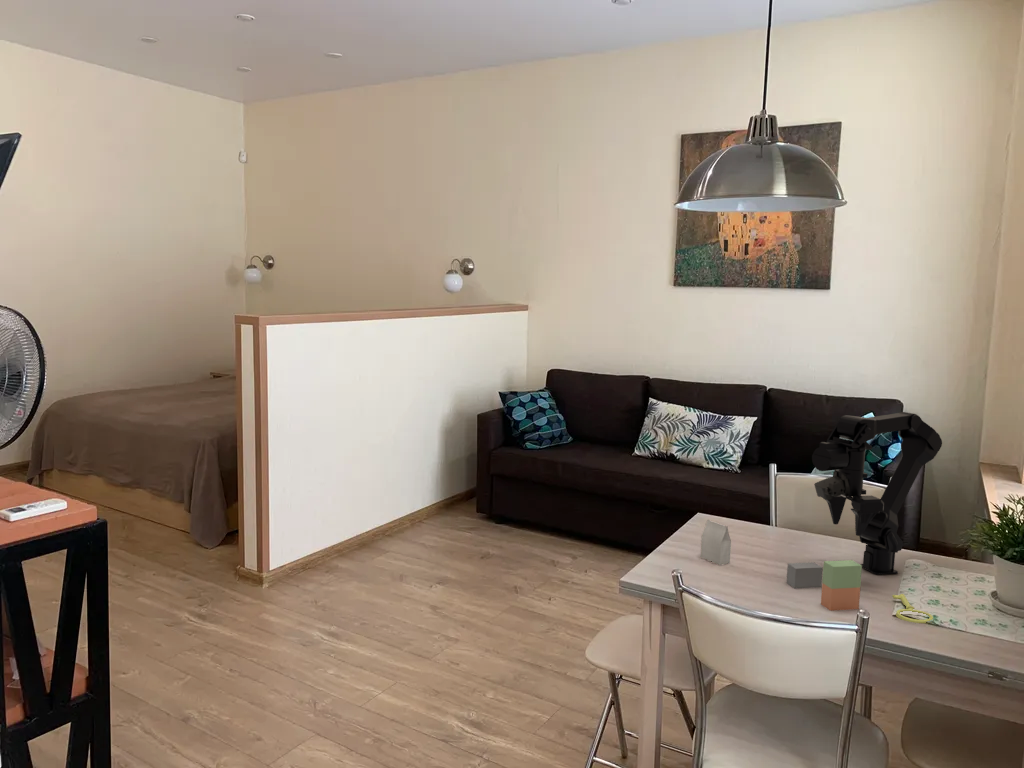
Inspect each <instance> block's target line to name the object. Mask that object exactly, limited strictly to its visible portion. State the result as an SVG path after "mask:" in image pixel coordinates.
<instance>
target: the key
mask: <svg viewBox="0 0 1024 768" xmlns="http://www.w3.org/2000/svg"><path fill="white" fill-rule="evenodd" d="M891 597H892V598H893V599H894V600H895V599H896V600H901V602H902V604H903V606H904V605H905V606H906V609H905V608H901V609H898V610H897V611H896V613H895V617H897V618H898V619H900V620H902V621H904V622H909V623H915V624H927V623H926V622H927V621H930V620H932V619H933V620H934V617H933V615H932V614H930V613H928V612H926V611H923V610H920V609H919V610H918V609H915V607H914V606H913V605H911V604H910V603H909V600H908V598H907V597H906V595H905V594H904V593H901V594H899V595H898V594H897V595H896V594H892V596H891ZM905 606H904V607H905ZM913 609H915V610H913ZM903 611H912V612H918V613H923V614H926V615H928V616H929V617H930V618H929V619H928V618H926V619H925V618H924V619H925V620H924V619H915V618H910V617H907V616H904V615H901V614H900V612H903Z"/></svg>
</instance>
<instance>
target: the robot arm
mask: <svg viewBox="0 0 1024 768" xmlns="http://www.w3.org/2000/svg"><path fill="white" fill-rule="evenodd" d="M893 432H898V434H897V435H898V436H899V438H900V439H901V440H902V442H901V444H900V448H901V449H900V450H901V459H900V460H899V463H898V465H897V466H896V468H895V470H894V472H893V474H892V476H891V478H890V479H889V481H888V484H887V485H886V488H885V489H884V491H883V493H882V495H881V497H880V498H879V497H877V496H875V495H871V494H870V495H867V490H866V489H864V488H863V485H864V479H867V478H868V475H869V474H868V473H866V472H865V458H866V451H867V450H872V448H873V446H872V445H871V444H870V443H868V442H869V441H871V440H873V439H875V437H876V436H877V435H880V434H887V433H893ZM942 446H943V440H942V438H941V436H940V434H939V433H938V432H937V431H936V430H935V428H933V427H931V426H930V425H929V424H927V423H926V422H925V421H924V420H922V418H921V417H920V416H919V415H918V414H916V413H914V412H913V413H911V412H906V411H900V412H899V411H898V412H897V413H891V414H882V415H877V416H870V417H863V416H855V415H846V414H845V415H842V416H840V418H839V420H838V421H837V423H836V424H835V426H834V428H833V429H832V431H831V433H830V434H829V436H828V437H827V439H826V442H825V441H821V442H819V447H816V448H815V450H814V451H813V452H812V455H811V461H812V464H813V467H814V468H815V469H816V470H817V471H819V472H829V471H833V472H832V476H830V477H827V478H824V479H822V480H819V481H817V482H814V488H815V492H816V496H817V497H819V498H823V500H824V501H826V503H827V506H828V509H829V513H830V517H831V520H832V523H833V525H839V523H840V520H841V517H842V514H843V510H844V507H845V504H846V501H847V500H849V501H851V502H850V505H851V506H852V508H850V510H851V512H852V513H853V515H854V522H855V525H854V526H855V528H854V529H855V536H857V537H859V541H860V543H861V544H865V550H864V551H863V560H862V563H859V564H860V565H862V569H865V570H867V571H869V572H870V573H871V574H874V575H891V574H892V575H893V574H894V575H896V574H899V571H898V570H896V569H895V561H896V560H895V557H896V553H899V552H901V551H902V549H903V546H904V541H903V540H902V539H901V538H900V536H899V535H898V533H897V532H898V529H899V520H898V514H899V512H900V510H901V508H902V506H903V503H904V502H905V500H906V498H907V496H908V494H909V492H910V491H911V489H912V486H913V484H914V483H915V481H916V479H917V476H918V475H919V473H920V471H921V469H922V467H923V466H924V465H925V464H928V463H929V462H931V461H932V460H934V459H935V457H936V456H937V454H938V453H939V451H940V450H941V448H942Z"/></svg>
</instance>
